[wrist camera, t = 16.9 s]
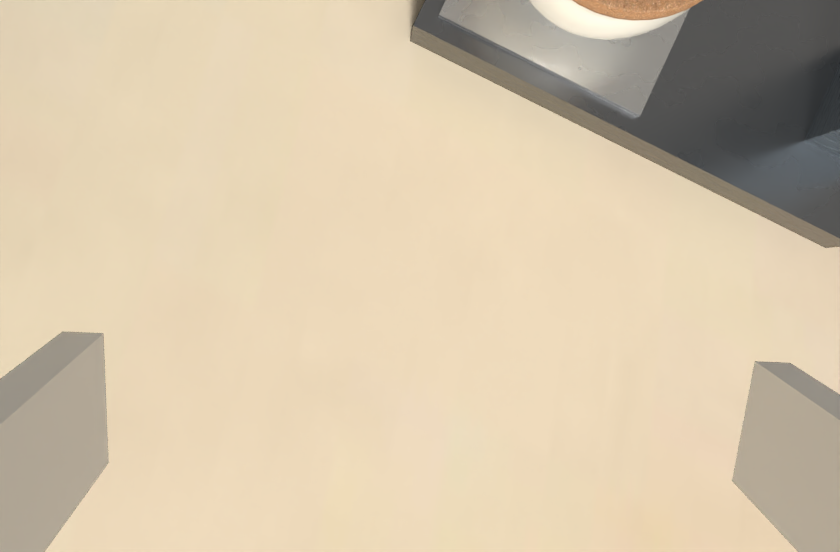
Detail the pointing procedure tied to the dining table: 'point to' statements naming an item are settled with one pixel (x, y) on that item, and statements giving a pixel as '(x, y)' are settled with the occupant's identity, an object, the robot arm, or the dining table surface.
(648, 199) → the dining table surface
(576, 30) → the lidded jar
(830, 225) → the arbor press
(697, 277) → the dining table surface
